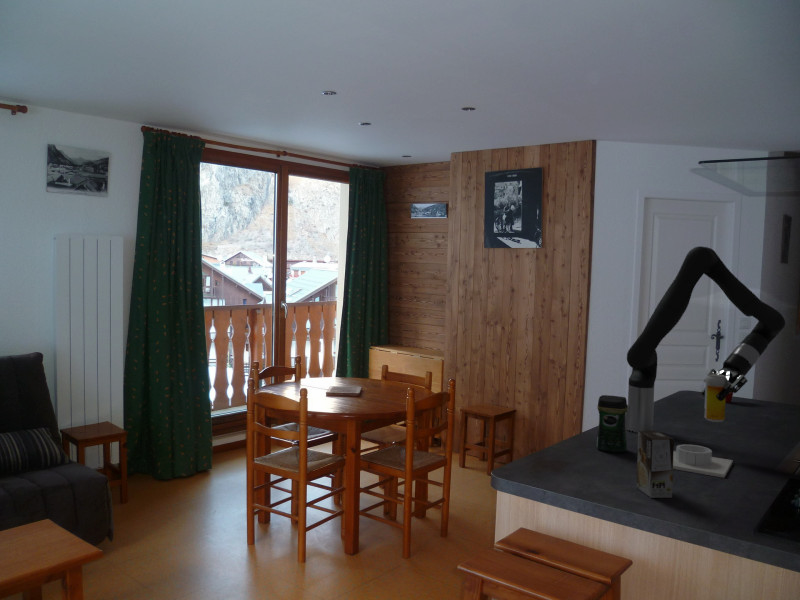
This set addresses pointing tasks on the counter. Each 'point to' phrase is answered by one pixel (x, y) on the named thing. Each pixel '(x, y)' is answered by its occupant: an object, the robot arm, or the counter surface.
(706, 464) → the base
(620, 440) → the coffee jar
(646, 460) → the coffee box
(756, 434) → the counter surface
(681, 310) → the robot arm
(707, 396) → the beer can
